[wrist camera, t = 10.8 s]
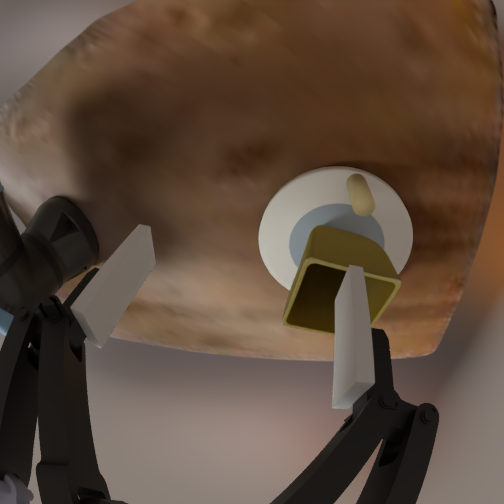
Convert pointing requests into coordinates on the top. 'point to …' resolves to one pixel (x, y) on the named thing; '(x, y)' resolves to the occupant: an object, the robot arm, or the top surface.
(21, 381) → the robot arm
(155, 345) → the top surface
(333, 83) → the top surface
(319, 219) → the disc
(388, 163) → the top surface
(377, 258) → the flower pot
